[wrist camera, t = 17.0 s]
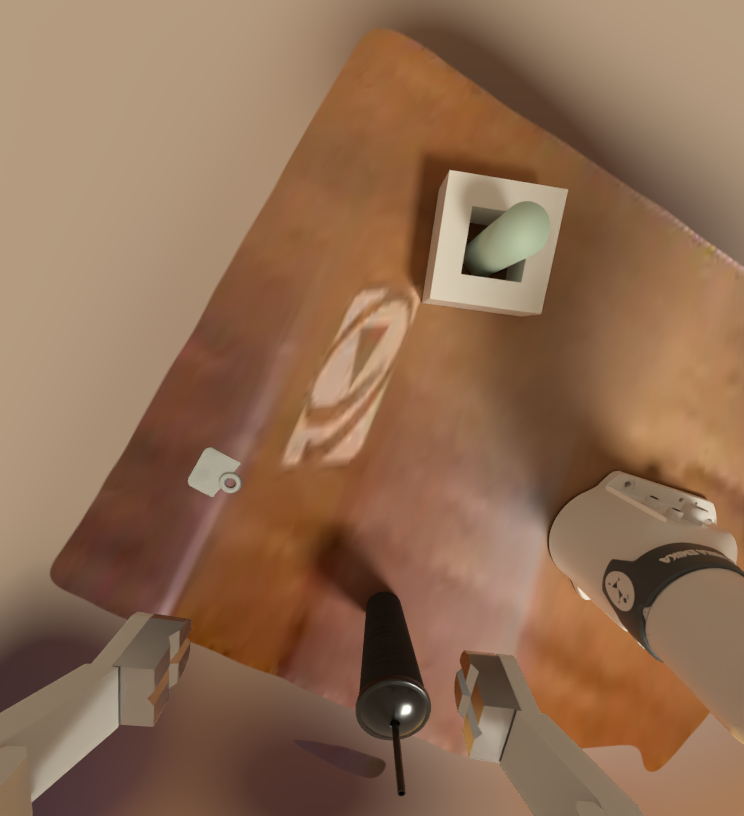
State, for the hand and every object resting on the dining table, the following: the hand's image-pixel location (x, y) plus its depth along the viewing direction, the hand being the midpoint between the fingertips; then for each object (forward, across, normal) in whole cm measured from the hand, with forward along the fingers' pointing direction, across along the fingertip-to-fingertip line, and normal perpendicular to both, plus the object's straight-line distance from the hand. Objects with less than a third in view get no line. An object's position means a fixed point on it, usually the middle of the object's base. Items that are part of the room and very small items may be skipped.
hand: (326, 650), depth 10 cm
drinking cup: (+32, -8, +27) cm, 43 cm away
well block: (+33, -11, -20) cm, 40 cm away
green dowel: (+33, -12, -20) cm, 40 cm away
